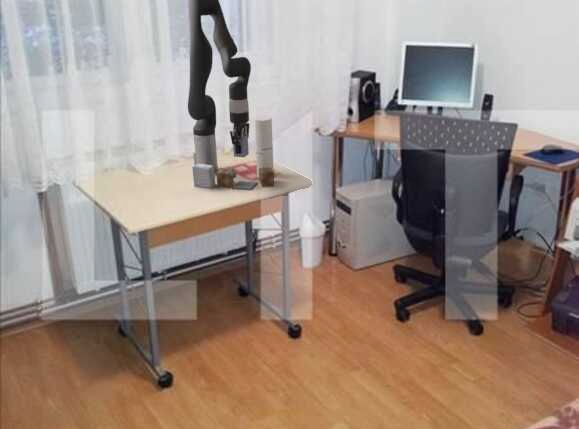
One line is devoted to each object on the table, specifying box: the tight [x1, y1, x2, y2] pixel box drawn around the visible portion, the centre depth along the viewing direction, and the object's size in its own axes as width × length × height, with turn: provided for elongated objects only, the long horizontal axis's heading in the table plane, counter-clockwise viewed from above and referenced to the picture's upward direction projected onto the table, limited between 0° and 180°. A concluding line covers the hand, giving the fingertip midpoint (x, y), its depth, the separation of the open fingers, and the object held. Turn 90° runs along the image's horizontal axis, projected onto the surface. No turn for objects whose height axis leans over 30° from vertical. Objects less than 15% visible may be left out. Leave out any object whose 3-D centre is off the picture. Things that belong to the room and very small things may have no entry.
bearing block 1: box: [215, 167, 237, 188], centre depth 264 cm, size 7×6×6 cm
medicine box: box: [191, 164, 217, 189], centre depth 264 cm, size 8×4×9 cm, turn 65°
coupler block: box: [232, 135, 250, 158], centre depth 256 cm, size 4×4×8 cm
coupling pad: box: [232, 180, 258, 191], centre depth 264 cm, size 8×8×1 cm
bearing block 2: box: [258, 167, 275, 188], centre depth 264 cm, size 6×6×6 cm
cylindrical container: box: [253, 115, 275, 178], centre depth 270 cm, size 7×7×25 cm
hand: (241, 151), depth 257 cm, fingers closed on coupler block, 4 cm apart
